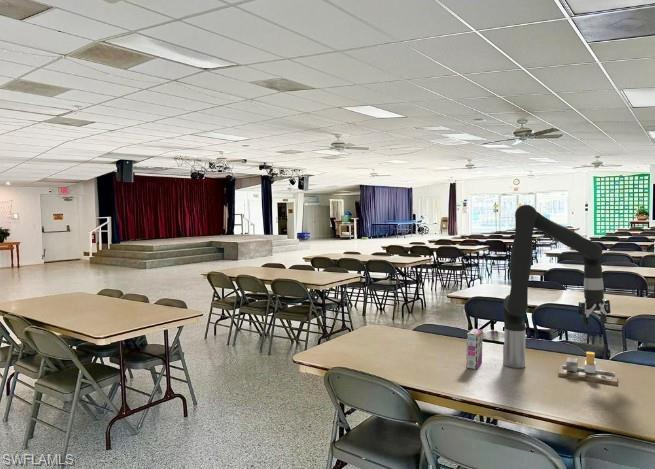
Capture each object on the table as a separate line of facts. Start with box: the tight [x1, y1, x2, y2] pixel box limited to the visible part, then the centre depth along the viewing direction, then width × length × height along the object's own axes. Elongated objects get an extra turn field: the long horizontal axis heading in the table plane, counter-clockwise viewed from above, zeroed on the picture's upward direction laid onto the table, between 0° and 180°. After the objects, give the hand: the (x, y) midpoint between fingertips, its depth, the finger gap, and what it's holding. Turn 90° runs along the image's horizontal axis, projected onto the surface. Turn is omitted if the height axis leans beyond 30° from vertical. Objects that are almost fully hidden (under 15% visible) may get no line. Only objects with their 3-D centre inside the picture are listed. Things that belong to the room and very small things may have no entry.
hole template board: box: [557, 357, 618, 386], centre depth 204 cm, size 22×10×6 cm, turn 59°
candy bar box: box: [465, 328, 484, 371], centre depth 220 cm, size 11×5×16 cm, turn 149°
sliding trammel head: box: [584, 351, 597, 374], centre depth 204 cm, size 4×6×9 cm, turn 149°
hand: (594, 324), depth 208 cm, fingers open, 8 cm apart
